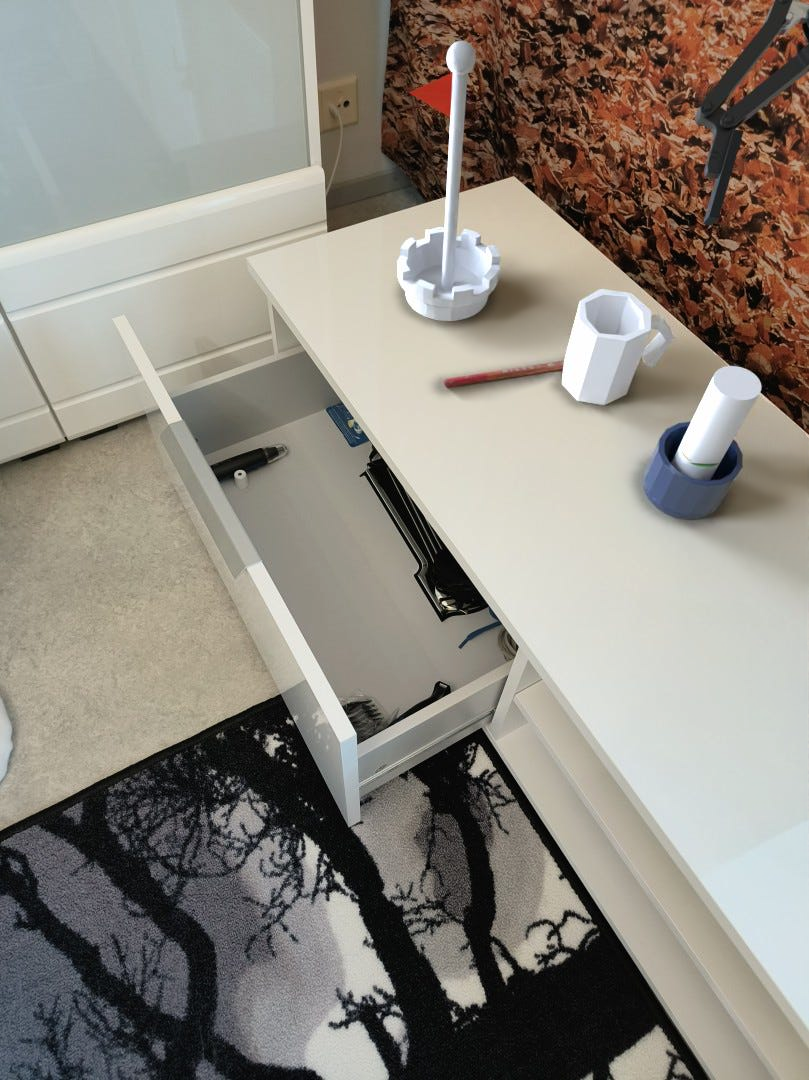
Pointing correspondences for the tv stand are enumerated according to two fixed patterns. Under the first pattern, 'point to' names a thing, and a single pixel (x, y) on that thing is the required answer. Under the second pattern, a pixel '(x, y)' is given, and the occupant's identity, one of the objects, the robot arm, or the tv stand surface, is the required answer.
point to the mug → (611, 345)
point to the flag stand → (449, 220)
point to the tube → (716, 422)
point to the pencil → (504, 374)
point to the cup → (687, 479)
